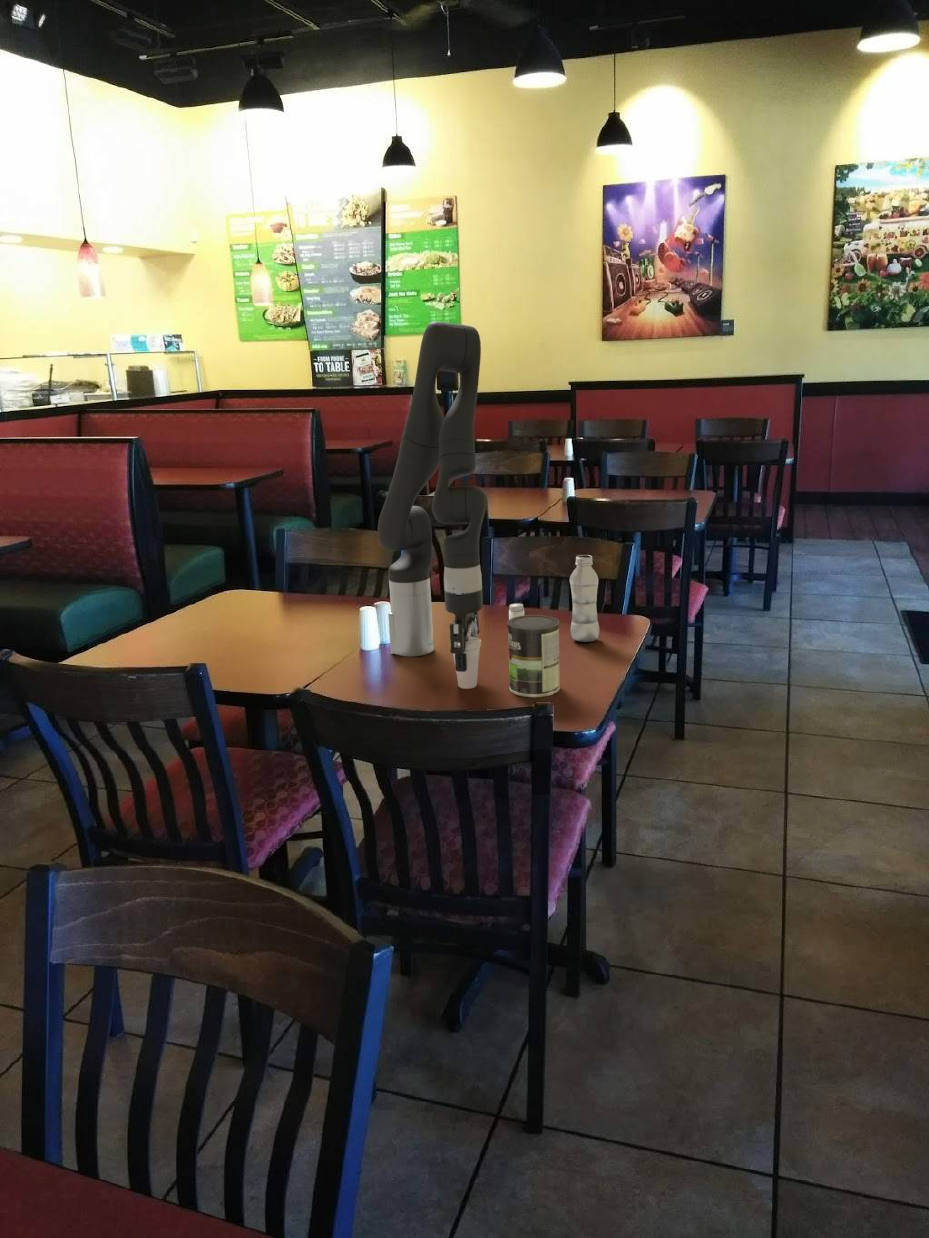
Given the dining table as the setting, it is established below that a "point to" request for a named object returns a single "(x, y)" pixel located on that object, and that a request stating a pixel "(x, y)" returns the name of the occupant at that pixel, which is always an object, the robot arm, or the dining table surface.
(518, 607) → the salt shaker
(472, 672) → the smoothie
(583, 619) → the plastic bottle
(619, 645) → the dining table surface
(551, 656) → the coffee can
